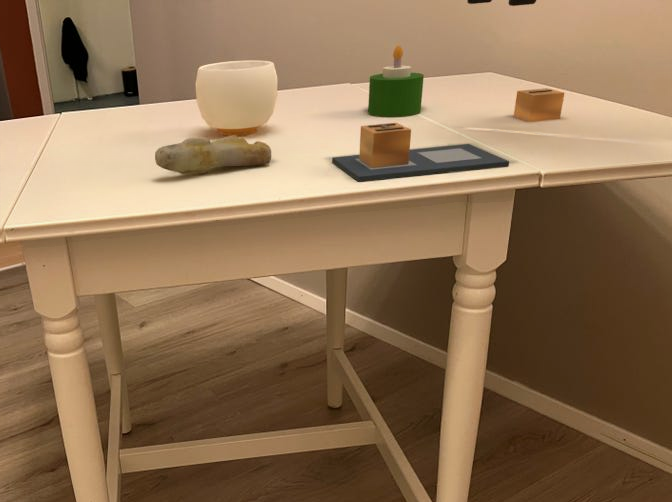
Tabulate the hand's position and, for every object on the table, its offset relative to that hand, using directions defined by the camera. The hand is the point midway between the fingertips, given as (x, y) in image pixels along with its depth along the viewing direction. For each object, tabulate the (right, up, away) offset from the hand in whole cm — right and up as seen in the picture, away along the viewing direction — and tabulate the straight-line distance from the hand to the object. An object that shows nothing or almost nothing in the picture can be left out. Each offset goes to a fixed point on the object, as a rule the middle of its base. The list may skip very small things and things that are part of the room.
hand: (499, 3), depth 88 cm
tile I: (+12, -10, +14) cm, 21 cm away
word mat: (-11, -21, -2) cm, 23 cm away
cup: (-31, -9, +22) cm, 39 cm away
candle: (-5, -4, +28) cm, 28 cm away
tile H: (-15, -20, -3) cm, 26 cm away
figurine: (-36, -20, +2) cm, 41 cm away
